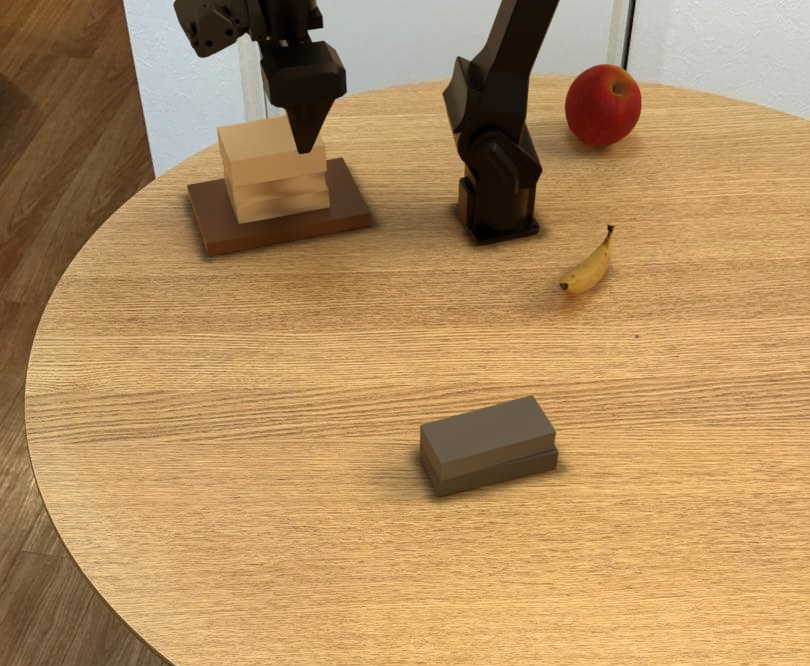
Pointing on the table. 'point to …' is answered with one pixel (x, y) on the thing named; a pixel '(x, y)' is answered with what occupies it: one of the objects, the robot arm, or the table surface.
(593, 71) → the apple
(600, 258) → the banana
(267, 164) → the cream book
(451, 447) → the grey books
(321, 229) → the shelf board
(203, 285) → the table surface
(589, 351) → the table surface
